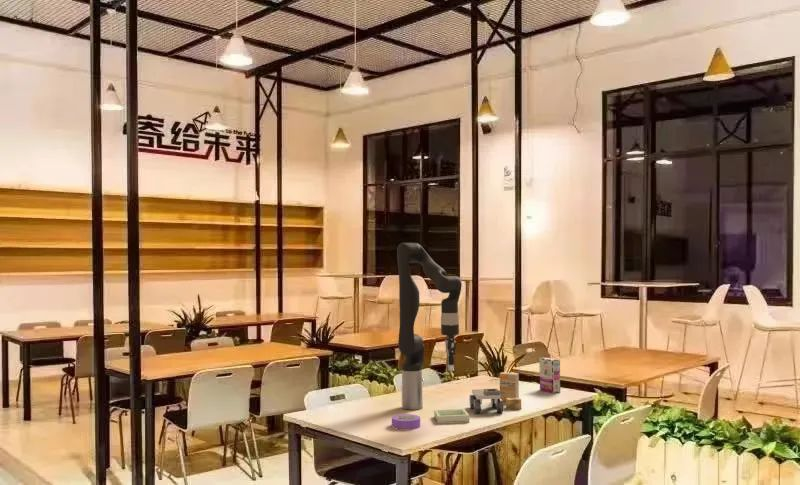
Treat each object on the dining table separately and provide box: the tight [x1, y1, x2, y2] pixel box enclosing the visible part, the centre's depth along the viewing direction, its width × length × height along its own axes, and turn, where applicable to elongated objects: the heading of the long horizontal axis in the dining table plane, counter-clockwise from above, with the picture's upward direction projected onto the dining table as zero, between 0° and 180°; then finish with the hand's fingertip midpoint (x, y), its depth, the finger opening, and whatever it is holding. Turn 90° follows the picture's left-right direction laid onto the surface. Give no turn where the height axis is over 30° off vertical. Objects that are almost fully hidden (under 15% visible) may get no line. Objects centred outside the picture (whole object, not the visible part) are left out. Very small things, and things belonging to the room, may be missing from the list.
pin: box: [447, 351, 455, 372], centre depth 286 cm, size 3×3×10 cm
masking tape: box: [391, 413, 421, 430], centre depth 275 cm, size 12×12×4 cm
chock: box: [505, 397, 522, 411], centre depth 304 cm, size 6×4×4 cm, turn 95°
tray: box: [433, 408, 470, 425], centre depth 285 cm, size 13×12×3 cm
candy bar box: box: [538, 357, 561, 394], centre depth 343 cm, size 11×5×16 cm, turn 25°
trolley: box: [468, 388, 504, 415], centre depth 301 cm, size 12×16×10 cm
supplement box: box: [499, 371, 520, 402], centre depth 321 cm, size 8×5×13 cm, turn 62°
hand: (450, 364), depth 285 cm, fingers closed on pin, 2 cm apart
